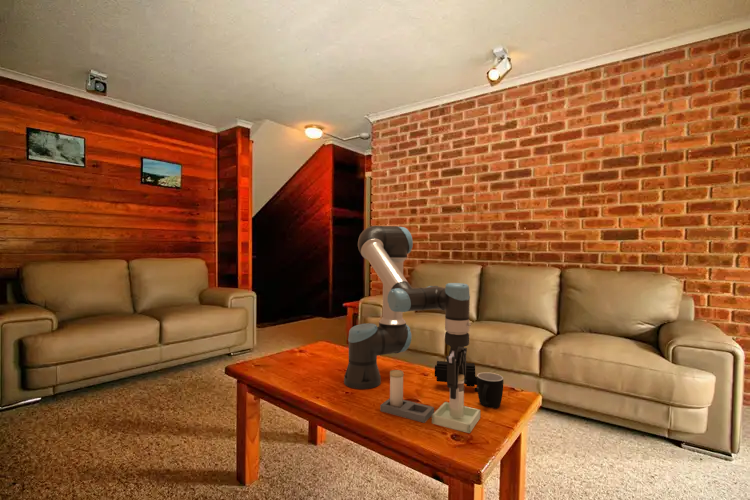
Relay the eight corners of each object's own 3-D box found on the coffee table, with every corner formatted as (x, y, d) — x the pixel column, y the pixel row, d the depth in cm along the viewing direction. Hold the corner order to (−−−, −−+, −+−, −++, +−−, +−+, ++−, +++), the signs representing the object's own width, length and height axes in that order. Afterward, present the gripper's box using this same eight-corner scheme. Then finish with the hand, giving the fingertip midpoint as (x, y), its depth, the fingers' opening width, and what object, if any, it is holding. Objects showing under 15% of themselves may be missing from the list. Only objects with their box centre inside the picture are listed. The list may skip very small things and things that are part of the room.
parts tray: (431, 424, 113) (431, 415, 113) (444, 410, 124) (445, 401, 124) (469, 435, 107) (469, 424, 107) (480, 419, 118) (480, 409, 118)
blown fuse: (447, 416, 115) (447, 376, 115) (452, 410, 119) (452, 372, 119) (461, 419, 112) (461, 379, 112) (465, 414, 116) (466, 374, 116)
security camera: (483, 394, 138) (483, 368, 138) (434, 390, 141) (434, 364, 141) (482, 387, 144) (482, 362, 144) (435, 384, 148) (435, 359, 148)
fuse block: (380, 412, 122) (380, 373, 122) (391, 403, 129) (391, 366, 129) (424, 424, 114) (424, 382, 114) (434, 414, 121) (434, 375, 121)
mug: (480, 397, 135) (481, 370, 135) (506, 403, 130) (506, 375, 130) (470, 409, 124) (470, 380, 124) (497, 416, 120) (497, 385, 120)
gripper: (460, 339, 106) (459, 418, 106) (476, 328, 121) (475, 398, 121) (435, 335, 110) (435, 412, 110) (454, 325, 125) (454, 393, 125)
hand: (456, 405), depth 116 cm, fingers closed on blown fuse, 4 cm apart
